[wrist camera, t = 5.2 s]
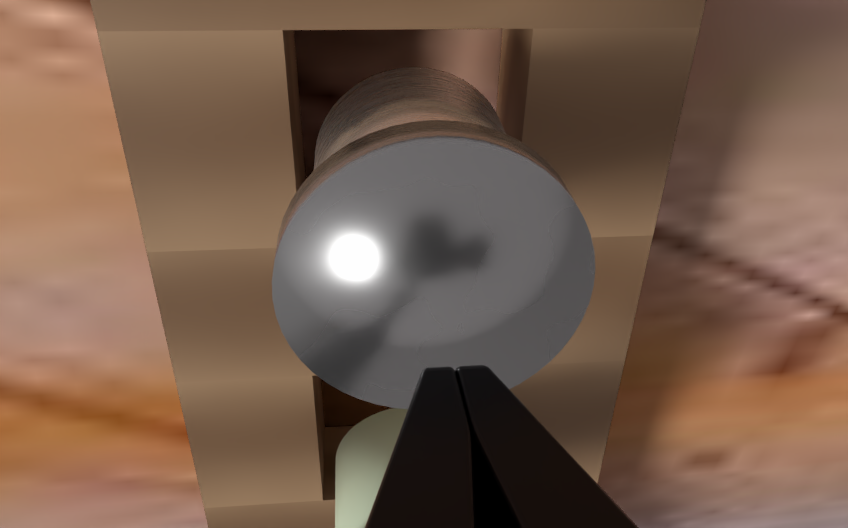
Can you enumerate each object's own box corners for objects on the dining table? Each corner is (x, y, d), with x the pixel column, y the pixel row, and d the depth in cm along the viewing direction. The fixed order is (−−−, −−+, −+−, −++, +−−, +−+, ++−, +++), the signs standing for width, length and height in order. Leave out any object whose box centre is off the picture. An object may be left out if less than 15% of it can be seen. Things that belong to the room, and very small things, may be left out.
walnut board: (537, 605, 31) (553, 676, 29) (255, 627, 30) (247, 703, 28) (669, -125, 16) (730, -108, 14) (110, -132, 15) (64, -116, 13)
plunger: (519, 258, 17) (572, 402, 13) (299, 265, 16) (286, 417, 12) (542, 40, 14) (620, 138, 10) (279, 42, 14) (254, 146, 10)
